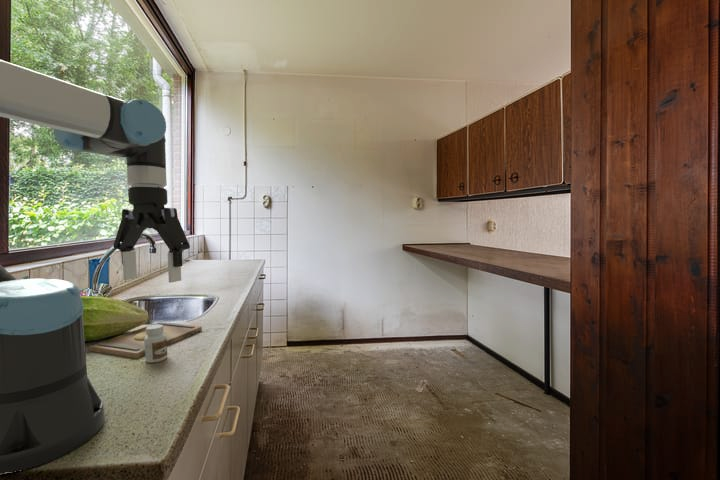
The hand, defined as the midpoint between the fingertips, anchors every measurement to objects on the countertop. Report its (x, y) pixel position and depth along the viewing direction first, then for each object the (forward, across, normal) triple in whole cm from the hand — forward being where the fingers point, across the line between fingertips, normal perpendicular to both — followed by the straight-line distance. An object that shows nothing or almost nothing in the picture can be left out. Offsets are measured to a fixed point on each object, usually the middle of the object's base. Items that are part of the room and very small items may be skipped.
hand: (152, 280), depth 78 cm
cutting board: (+18, +13, -9) cm, 24 cm away
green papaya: (+19, +28, -7) cm, 34 cm away
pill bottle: (+19, 0, 0) cm, 19 cm away
